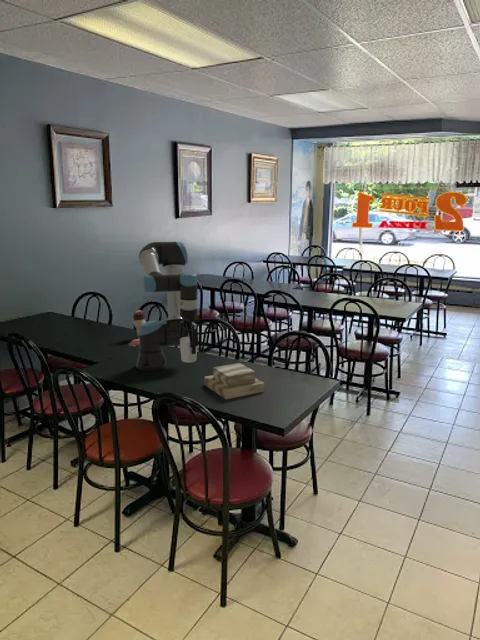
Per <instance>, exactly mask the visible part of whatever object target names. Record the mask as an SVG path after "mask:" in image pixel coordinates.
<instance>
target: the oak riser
mask: <svg viewBox="0 0 480 640" xmlns="http://www.w3.org/2000/svg"><path fill="white" fill-rule="evenodd" d="M256 374H257V373H256V371H255V370H254V369H251V368H250V367H248V366H246V365H244V364H242V363H240V362H237V363H230V364H226V365H219V366H215V367H213V374H212V375H207V376H204V386H206V387H207V388H209V389H210V390H211V391H213V393H216V394H217V395H219V396H220V397H221V398H223V399H224V400H230V399H234V398H239V397H245V396H248V395H253V394H257V393H264V392H265V382H264V381H262V380H260V379H258V378H257V377H256Z"/></svg>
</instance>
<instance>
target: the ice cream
mask: <svg viewBox="0 0 480 640" xmlns="http://www.w3.org/2000/svg"><path fill="white" fill-rule="evenodd" d="M145 317H146V315H145V314H144V312H143V311H142V310H141V309H138V310H136V311H135V312H134V314H133V317H132V318H133V319H134V320H133V322H132V324H133V326H134V327H135V329H136V335H137V336H138V337H139V327H140V325H141V324H143V323H145V322H146V320H145ZM129 345H130V346H131V347H132V346H133V348H134V347H136V346H139V338H137V339H135V338H134V339H133V340H131V341H130V342H129Z"/></svg>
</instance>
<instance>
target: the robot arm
mask: <svg viewBox="0 0 480 640" xmlns="http://www.w3.org/2000/svg"><path fill="white" fill-rule="evenodd" d="M188 258H189V257H188V251H187V246H186V245H185V243H183V242H182V241H153V242H150V243H148V244H146V245H144V246H143V247H142V248H141V250H140V251H139V254H138V260H139V263H140V265H141V266H142V267H143V271H144V274H145V275H144V276H143V280H142V281H143V282H142V283H143V284H142V285H143V286H142V287H143V291H144V292H145V293H160V292H161V293H162V292H163V293H164V292H165V293H166V295H167V296H166V298H167V313H168V317H167V318H166V319H165V323H163V322H162V320H149V321H145V323H143V324H141V325H140V327H139V336H138V339H139V345H138V346H139V352H138V357H137V360H136V362H135V363H136V367H135V368H136V369H138V370H140V371H142V372H143V371H144V372H157V371H161V370H163V369H165V368H167V360H166V357H165V355H164V351H163V347H176V346H177V347H178V346H179V347H180V338H182V337H189V339H190V345H191V346H189V347H190V361H194V360H196V361H197V355H196V346H197V347H199V346H200V345H199V332H198V330H199V324H198V323H195V322H196V321H195V319H196V318H197V317H198V309H197V308H198V282H199V281H198V275H197V274H196V273H193V272H183V271H184V269H185V268H186V265H187V264H188V262H189V260H188ZM161 267H162V269H163V270H164V272H165V274H163V273H162V269H161ZM194 362H195V361H194Z"/></svg>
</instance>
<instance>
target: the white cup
mask: <svg viewBox="0 0 480 640" xmlns="http://www.w3.org/2000/svg"><path fill="white" fill-rule="evenodd" d="M189 346H191V345H190V339H189V337H182V338H180V346H179V350H180V360H181V362H183V363H189V364H190V363H194V362H196V361H197V359H196V360H194V361H190V347H189ZM197 352H198V346H196V356H197V354H198V353H197Z"/></svg>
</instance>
